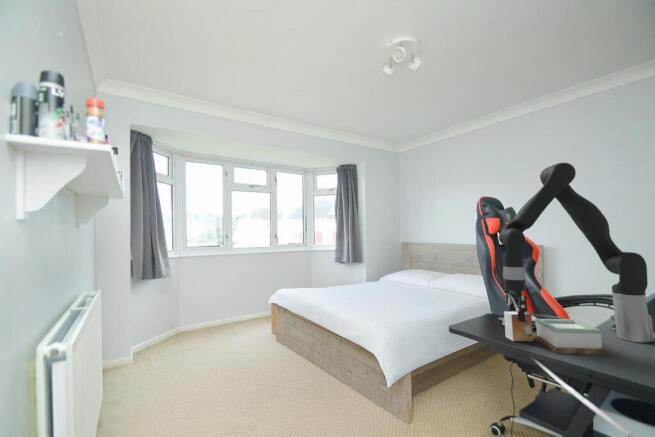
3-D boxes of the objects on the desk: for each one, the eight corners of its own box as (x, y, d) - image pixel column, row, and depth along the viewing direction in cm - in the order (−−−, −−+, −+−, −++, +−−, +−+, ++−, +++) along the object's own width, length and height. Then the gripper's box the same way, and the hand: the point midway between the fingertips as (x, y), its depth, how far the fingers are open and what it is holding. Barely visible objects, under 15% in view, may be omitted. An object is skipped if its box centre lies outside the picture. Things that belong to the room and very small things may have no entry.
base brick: (577, 335, 118) (575, 319, 118) (602, 348, 104) (600, 330, 105) (537, 334, 120) (535, 319, 121) (556, 347, 107) (554, 329, 107)
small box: (513, 341, 118) (510, 314, 119) (505, 337, 124) (503, 311, 124) (534, 341, 118) (531, 313, 119) (525, 336, 123) (523, 310, 124)
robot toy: (503, 331, 134) (543, 331, 129) (502, 321, 134) (541, 320, 129) (498, 323, 145) (535, 323, 140) (497, 314, 146) (533, 313, 141)
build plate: (578, 338, 119) (577, 334, 119) (609, 354, 102) (608, 350, 102) (533, 337, 122) (532, 333, 122) (556, 353, 105) (555, 348, 105)
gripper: (532, 280, 115) (536, 323, 114) (516, 275, 129) (519, 314, 128) (511, 280, 116) (514, 323, 115) (497, 275, 130) (500, 314, 129)
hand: (517, 318), depth 121 cm, fingers open, 8 cm apart
